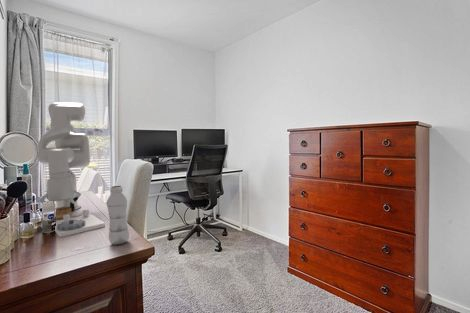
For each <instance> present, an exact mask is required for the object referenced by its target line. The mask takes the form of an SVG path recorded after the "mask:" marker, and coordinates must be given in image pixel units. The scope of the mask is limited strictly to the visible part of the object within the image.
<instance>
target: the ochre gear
mask: <svg viewBox="0 0 470 313" xmlns="http://www.w3.org/2000/svg"><path fill="white" fill-rule="evenodd" d="M67 214H69V215H70V216H71V215H72V214H73V212H72V209H71V207H60V208H56V218H55V219H63V215H67Z"/></svg>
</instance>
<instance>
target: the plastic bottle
mask: <svg viewBox="0 0 470 313" xmlns="http://www.w3.org/2000/svg"><path fill="white" fill-rule="evenodd" d="M123 191H124V190H123V186H122V185H113V186H111V187H110V192H109V193H110V195H109V196H108V199H107V200H106V206H107V212H108V218H109V232H108V241H109V242H110V244H111V245H123V244H126V243H127V242H128V241H129V238H130V230H129V228H128V222H127V221H128V220H127V209H128V208H127V207H128V200H127V197H126V195H124V193H123Z"/></svg>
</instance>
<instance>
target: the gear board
mask: <svg viewBox="0 0 470 313" xmlns="http://www.w3.org/2000/svg"><path fill="white" fill-rule="evenodd" d="M89 212H90V209H83V210H82V215H78V216H74V217H71V215H69V214H67V215H63V217H62V219H58V220H55V221H56V226H55V230H54V231H55V233H56V234H57V236H58V238H62V237H66V236H70V235H75V234H78V233H83V232H84V233H85V232H87V231H92V230H96V229H100V228H101V229H102V228H104V227H105V228H106V224H105V222H104V221H102V220H101V219H99V218H98V217H96V216H95V215H94V214H92V213H89Z"/></svg>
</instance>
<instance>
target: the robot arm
mask: <svg viewBox="0 0 470 313" xmlns="http://www.w3.org/2000/svg"><path fill="white" fill-rule="evenodd" d="M47 107H48V109H47V110H48V114H49V117H50V129H49V130H47V131H46V132H45V133H44V134H43V135H42V136H40V138H39V141H38V144H37V149H38V148H39V153H38V152H37V159H38V161H39V163H41V164H44V165H45V164H48V178H49V179H46V193H45V194H44V195H42V196H41V197H40V198H39V199H38V201H39V202H40V203H41V204H43V202H46V201H45V200H48V202H49V201H53V203H54V202H56V206H55V207H56V208H60V207H71V209H72V213H74V210H78V209H81V207H82V205H81V204H79V203H78V200H79V198H80V196H82V193H80V192H78V189H77V176H76V174H75V172H73V171H72V170H71V169H74V168H86V167H88V166H89V165H90V161H91V157H90V156H91V155H90V140H89V137H88V135H87V134H86V133H82V132H81V133H80V132H79V133H78V132H76V133H75V132H74V126H73V125H72V124H71V122H82V121H84V119H85V115H86V109H85V106H84V104H83V103H80V102H53V103H50V104H49V105H48V106H47ZM53 142H54V146H55V147H48V145H49V144H50V143H53Z"/></svg>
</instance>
